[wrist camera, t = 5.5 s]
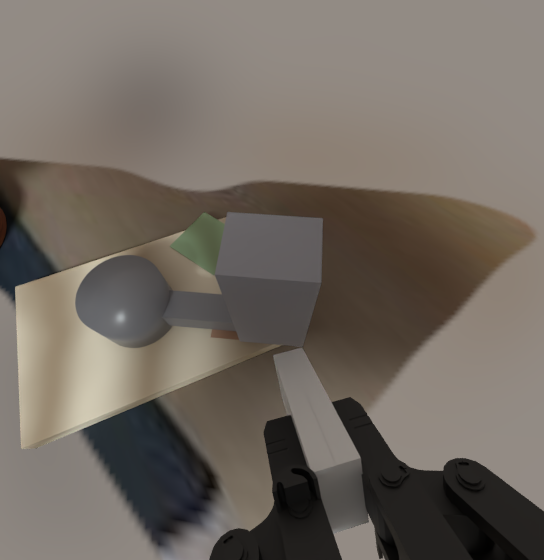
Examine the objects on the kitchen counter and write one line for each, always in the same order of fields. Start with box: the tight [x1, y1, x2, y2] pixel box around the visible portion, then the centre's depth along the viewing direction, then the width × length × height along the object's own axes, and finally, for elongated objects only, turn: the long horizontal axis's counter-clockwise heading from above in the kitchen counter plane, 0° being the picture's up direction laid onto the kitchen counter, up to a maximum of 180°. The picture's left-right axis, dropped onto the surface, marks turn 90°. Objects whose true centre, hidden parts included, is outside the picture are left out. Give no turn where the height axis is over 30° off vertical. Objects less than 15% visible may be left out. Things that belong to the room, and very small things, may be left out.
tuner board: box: [15, 212, 281, 449], centre depth 22 cm, size 17×12×1 cm
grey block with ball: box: [75, 212, 323, 348], centre depth 16 cm, size 14×5×9 cm, turn 85°
